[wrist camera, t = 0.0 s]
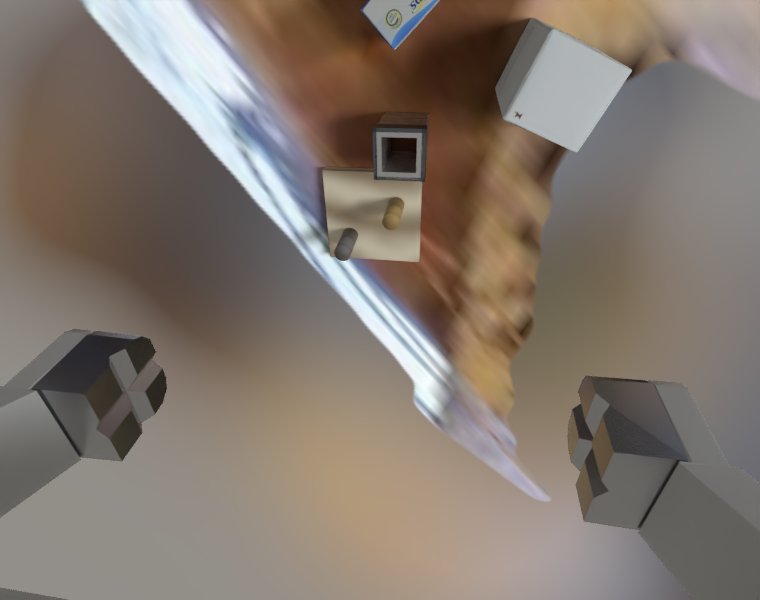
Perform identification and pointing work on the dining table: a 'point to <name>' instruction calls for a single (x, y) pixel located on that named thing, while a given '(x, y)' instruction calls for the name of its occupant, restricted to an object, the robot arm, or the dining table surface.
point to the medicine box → (396, 17)
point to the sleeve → (400, 162)
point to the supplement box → (557, 85)
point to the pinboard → (371, 215)
